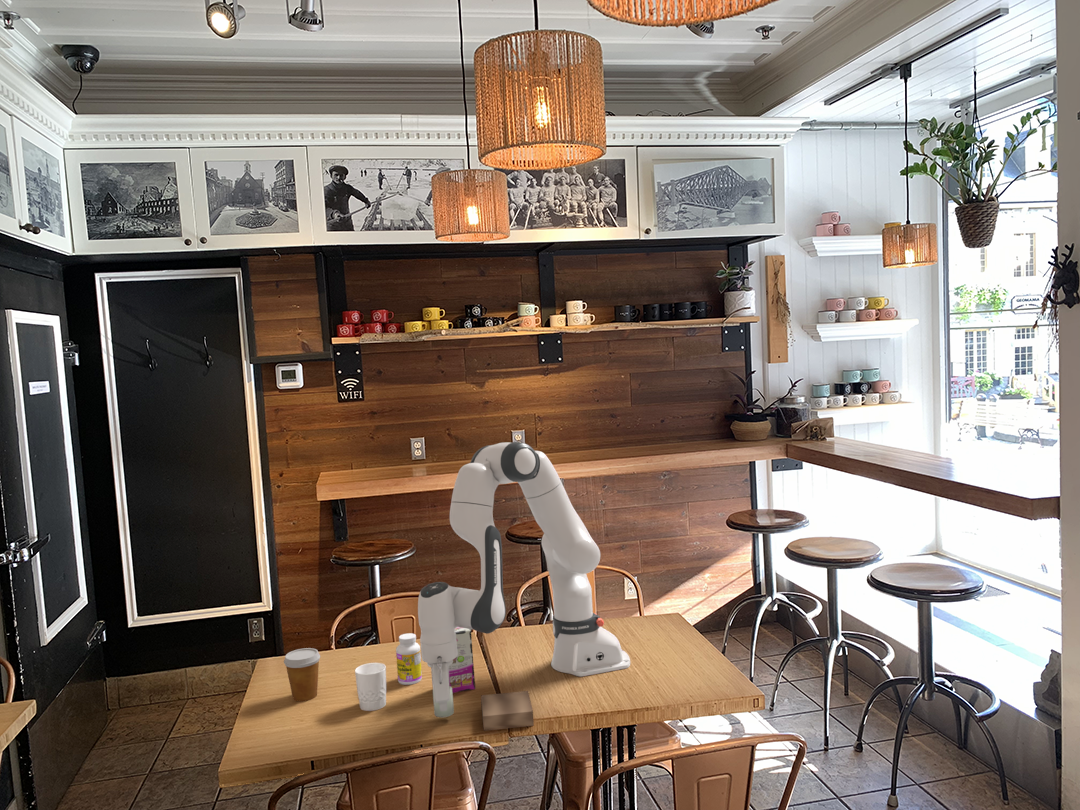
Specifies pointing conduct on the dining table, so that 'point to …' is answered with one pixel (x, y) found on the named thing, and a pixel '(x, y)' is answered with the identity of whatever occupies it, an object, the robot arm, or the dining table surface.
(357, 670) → the white cup
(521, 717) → the walnut block
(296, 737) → the dining table surface
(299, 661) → the disposable coffee cup
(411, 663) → the supplement bottle
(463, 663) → the candy bar box
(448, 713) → the pale green rounded block
